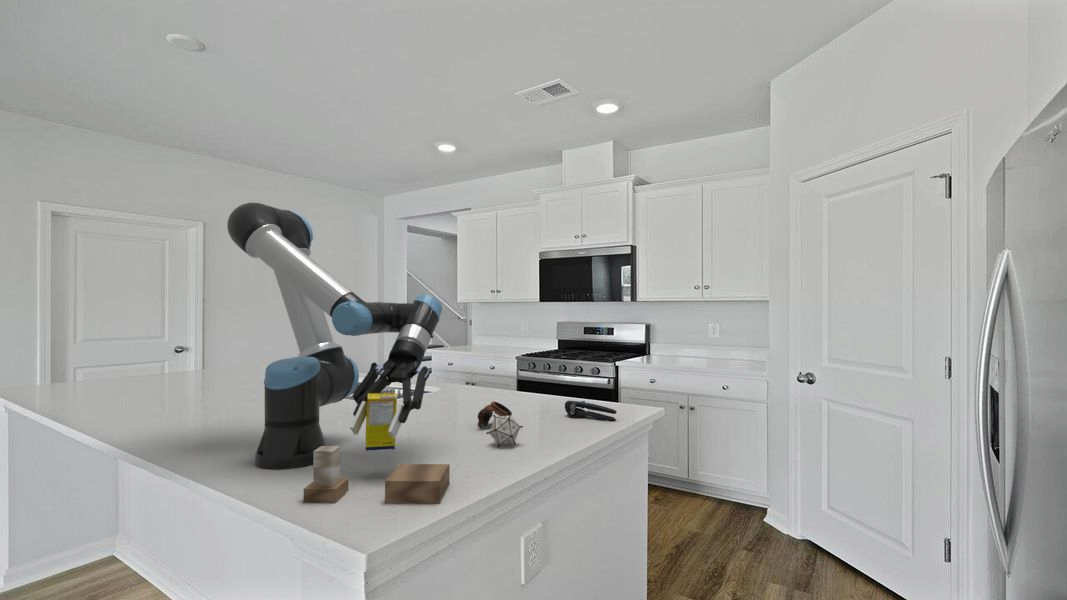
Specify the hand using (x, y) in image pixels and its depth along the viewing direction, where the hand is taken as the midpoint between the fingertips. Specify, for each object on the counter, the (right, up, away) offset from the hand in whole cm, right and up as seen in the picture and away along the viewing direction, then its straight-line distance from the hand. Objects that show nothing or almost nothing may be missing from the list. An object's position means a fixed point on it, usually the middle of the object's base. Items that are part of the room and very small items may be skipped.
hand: (372, 432), depth 104 cm
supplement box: (+1, -4, +3) cm, 5 cm away
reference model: (-6, -10, -9) cm, 14 cm away
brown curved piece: (+21, -11, +47) cm, 53 cm away
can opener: (+51, -11, +59) cm, 79 cm away
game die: (+26, -10, +27) cm, 39 cm away
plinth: (+11, -10, -7) cm, 16 cm away
